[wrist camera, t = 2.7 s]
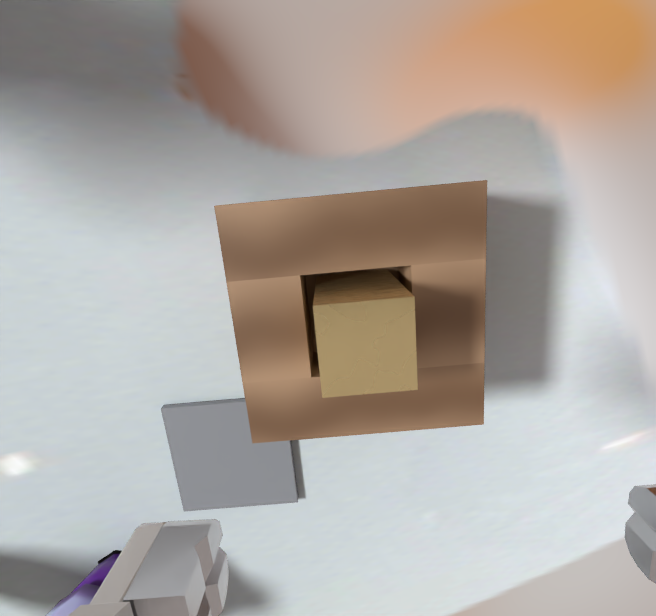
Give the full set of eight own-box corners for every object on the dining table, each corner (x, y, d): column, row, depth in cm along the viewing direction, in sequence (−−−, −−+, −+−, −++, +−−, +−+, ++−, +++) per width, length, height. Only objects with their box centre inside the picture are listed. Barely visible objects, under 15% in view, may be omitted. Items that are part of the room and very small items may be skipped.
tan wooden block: (316, 275, 24) (312, 305, 17) (386, 269, 24) (414, 296, 17) (323, 340, 26) (322, 397, 18) (389, 335, 25) (417, 389, 18)
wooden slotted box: (246, 207, 27) (214, 205, 19) (440, 188, 27) (487, 179, 19) (271, 384, 31) (252, 443, 23) (443, 369, 30) (483, 424, 23)
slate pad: (163, 404, 31) (160, 408, 31) (284, 394, 31) (283, 398, 30) (186, 506, 34) (183, 511, 33) (298, 497, 33) (297, 502, 33)
